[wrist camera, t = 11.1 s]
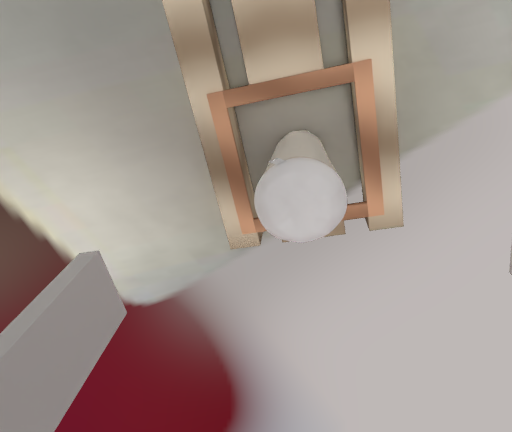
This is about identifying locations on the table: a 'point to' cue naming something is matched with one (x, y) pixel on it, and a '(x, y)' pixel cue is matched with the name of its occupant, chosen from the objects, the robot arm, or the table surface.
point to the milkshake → (300, 190)
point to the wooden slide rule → (287, 83)
